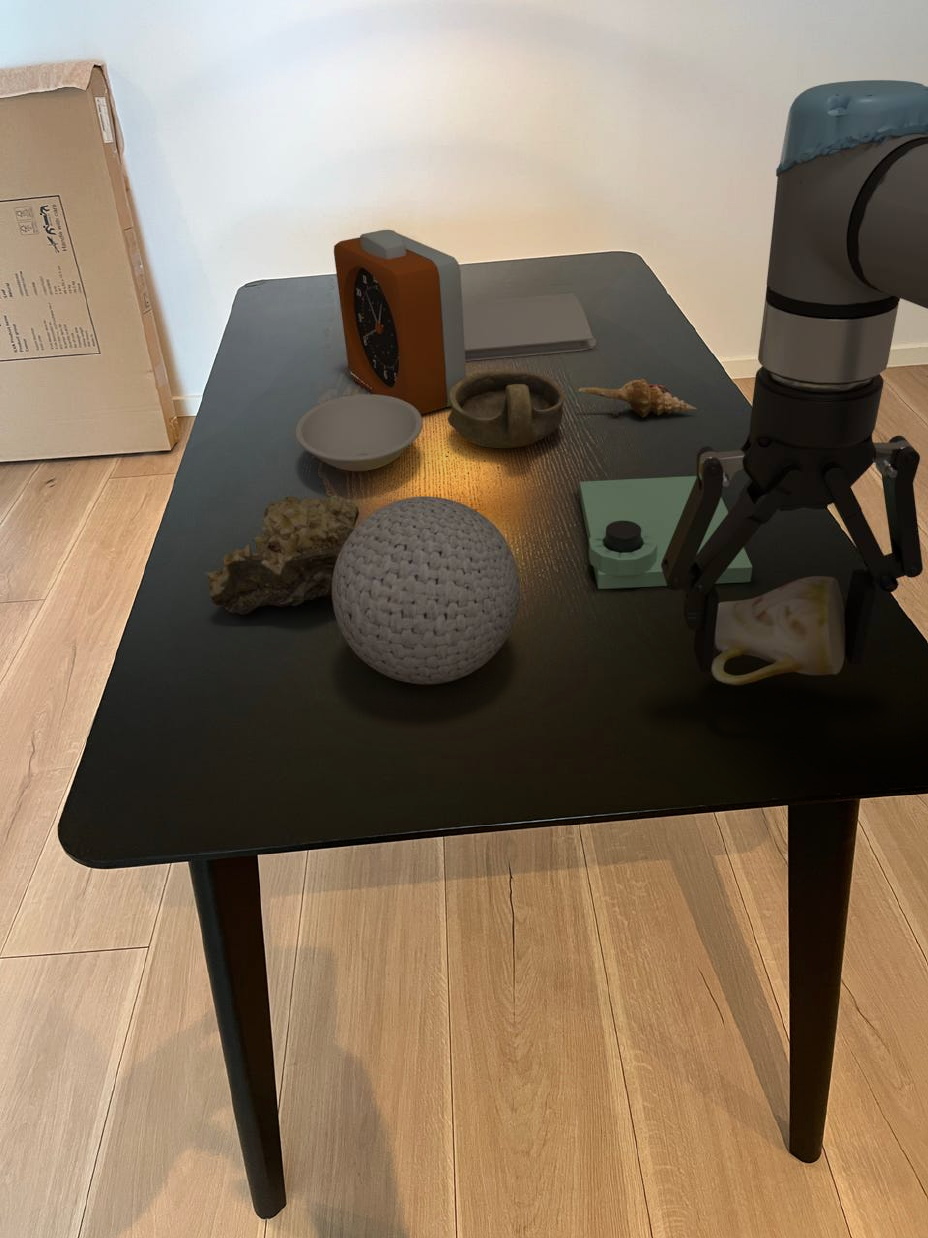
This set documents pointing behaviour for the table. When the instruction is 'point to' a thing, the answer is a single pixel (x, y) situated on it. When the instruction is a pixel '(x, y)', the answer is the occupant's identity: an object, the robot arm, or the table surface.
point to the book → (525, 327)
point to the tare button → (623, 536)
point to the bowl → (505, 408)
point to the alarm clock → (401, 317)
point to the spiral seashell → (642, 398)
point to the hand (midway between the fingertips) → (775, 656)
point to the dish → (359, 430)
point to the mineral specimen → (286, 556)
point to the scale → (644, 529)
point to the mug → (784, 630)
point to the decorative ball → (425, 590)
